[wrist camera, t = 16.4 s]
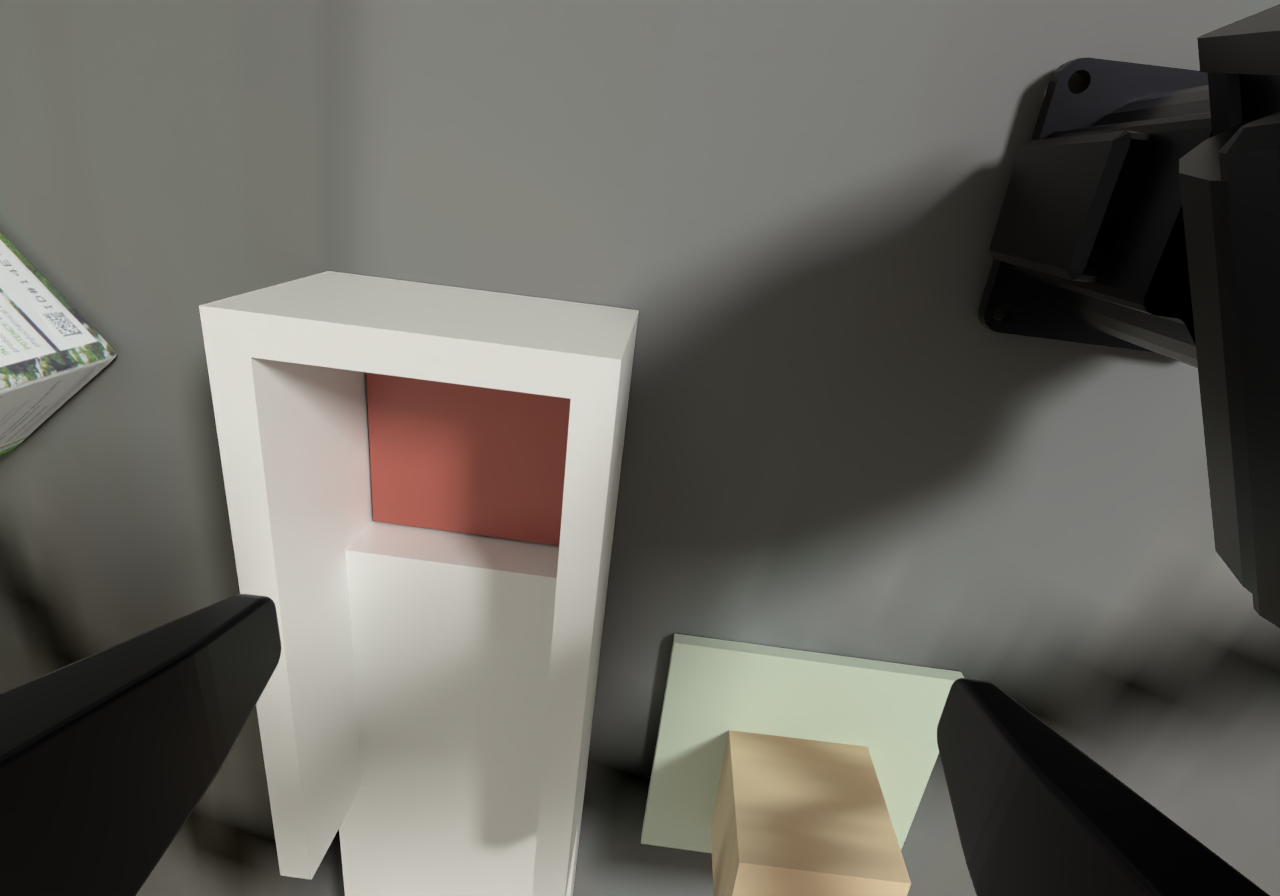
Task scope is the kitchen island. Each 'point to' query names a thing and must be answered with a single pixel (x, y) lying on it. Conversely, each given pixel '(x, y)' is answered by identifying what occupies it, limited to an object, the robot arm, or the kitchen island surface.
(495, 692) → the trap channel
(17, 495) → the kitchen island surface
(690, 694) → the sage pad
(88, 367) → the syrup box
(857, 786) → the maple block
